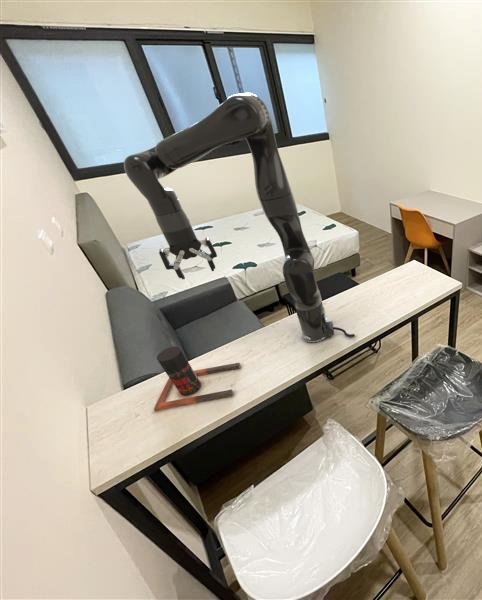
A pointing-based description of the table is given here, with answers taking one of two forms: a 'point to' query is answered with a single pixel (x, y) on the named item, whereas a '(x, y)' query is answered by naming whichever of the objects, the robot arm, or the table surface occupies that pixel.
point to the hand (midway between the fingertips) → (198, 274)
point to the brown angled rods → (196, 399)
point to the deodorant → (179, 371)
